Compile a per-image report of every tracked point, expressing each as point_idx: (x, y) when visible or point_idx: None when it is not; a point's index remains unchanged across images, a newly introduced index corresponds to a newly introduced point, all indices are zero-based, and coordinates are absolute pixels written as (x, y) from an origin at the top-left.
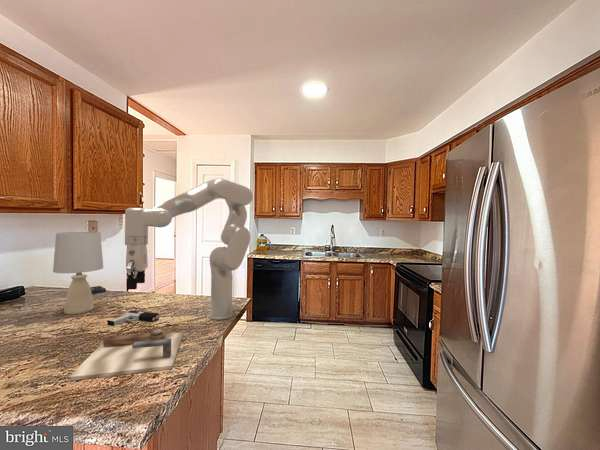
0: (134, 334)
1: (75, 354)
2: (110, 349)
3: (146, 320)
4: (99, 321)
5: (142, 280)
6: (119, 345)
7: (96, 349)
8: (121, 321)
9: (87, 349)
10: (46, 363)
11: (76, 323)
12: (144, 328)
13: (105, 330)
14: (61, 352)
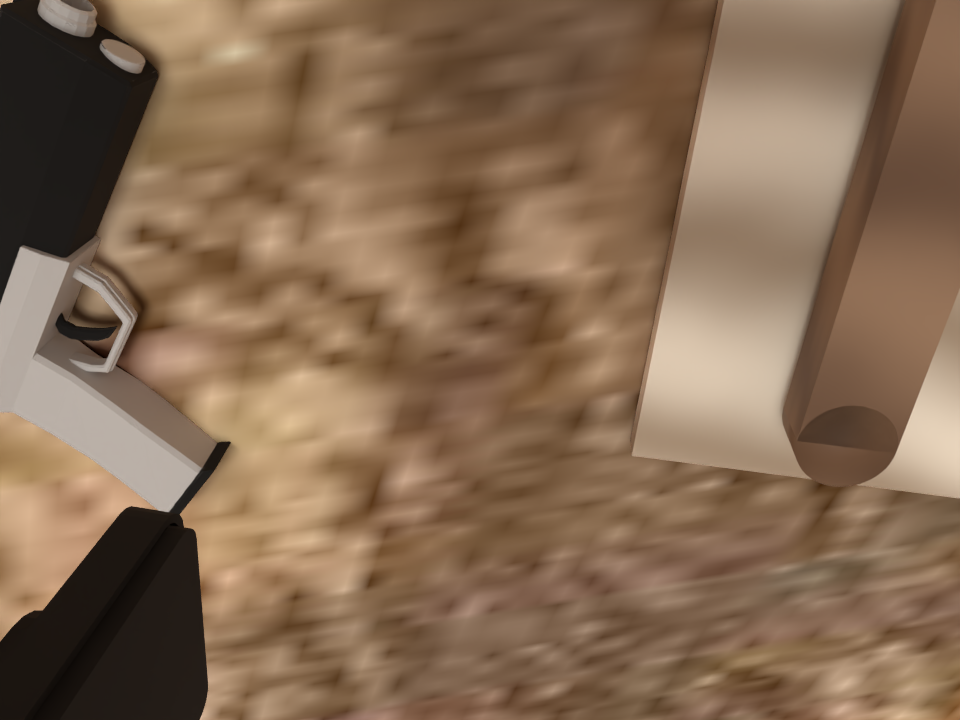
0: (879, 209)
1: (818, 585)
2: (950, 374)
3: (126, 148)
4: None
5: (156, 618)
6: None
7: (877, 479)
8: (145, 402)
9: (752, 532)
10: (889, 697)
11: None
12: (365, 135)
13: (332, 487)
14: (724, 664)
